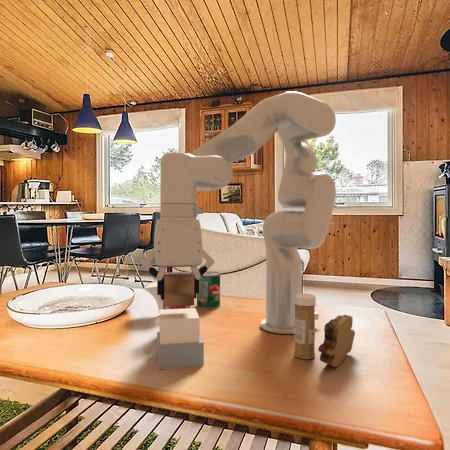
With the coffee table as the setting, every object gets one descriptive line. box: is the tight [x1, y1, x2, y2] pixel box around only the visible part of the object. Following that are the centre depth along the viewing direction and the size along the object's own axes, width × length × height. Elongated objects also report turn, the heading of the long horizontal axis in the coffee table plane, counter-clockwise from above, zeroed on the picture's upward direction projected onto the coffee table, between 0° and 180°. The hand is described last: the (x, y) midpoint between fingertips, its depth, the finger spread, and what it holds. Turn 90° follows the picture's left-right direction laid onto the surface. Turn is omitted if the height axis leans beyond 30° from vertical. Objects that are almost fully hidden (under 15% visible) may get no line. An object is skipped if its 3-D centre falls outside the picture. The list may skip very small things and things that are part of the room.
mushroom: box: [142, 278, 163, 315], centre depth 114 cm, size 10×11×12 cm
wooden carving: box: [318, 314, 356, 368], centre depth 78 cm, size 16×5×10 cm, turn 150°
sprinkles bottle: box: [293, 292, 317, 360], centre depth 82 cm, size 5×5×13 cm
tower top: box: [159, 307, 201, 344], centre depth 80 cm, size 8×8×5 cm
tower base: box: [156, 331, 205, 370], centre depth 80 cm, size 9×9×5 cm
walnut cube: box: [163, 271, 195, 307], centre depth 79 cm, size 6×6×6 cm
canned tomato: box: [196, 270, 221, 310], centre depth 125 cm, size 8×8×11 cm
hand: (178, 297), depth 80 cm, fingers closed on walnut cube, 6 cm apart
